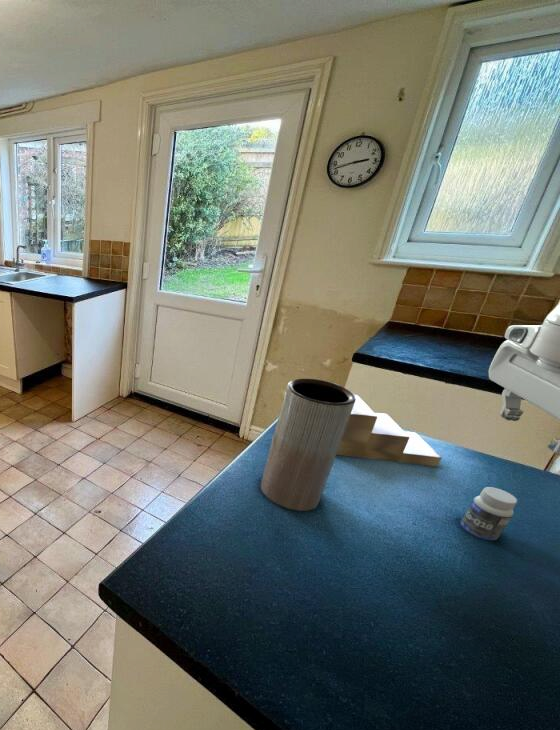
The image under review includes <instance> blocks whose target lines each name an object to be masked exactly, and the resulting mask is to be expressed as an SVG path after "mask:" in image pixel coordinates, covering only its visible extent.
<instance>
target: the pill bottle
mask: <svg viewBox="0 0 560 730" xmlns="http://www.w3.org/2000/svg"><path fill="white" fill-rule="evenodd" d="M517 503H518V499H517V497H515V496H514V495H513V494H512V493H509V492H508V491H505V490H503V489H501V488H497V487H492V486H486V487H484V488H483V489H482V490H481V492H480V494H479V495H477V496H475V497H474V498H473V499H472V502H471V503H470V506H469V507H468V508H467V510H466V512H465V513H464V515H463V517H462V519H461V520H460V525H461V527H462V528H463V529H464V530H465V531H466V532H468V533H469V534H471V535H473V536H475V537H477V538H480V539H483V540H487V541H496V540H497V539H499V537H500V536H501V534H502V533H503V531H504V530H505V528H506V526H507V525H508V523H509V522H510V521H511V519H512V517H513V516H514V513H515V512H514V508H515V507H516V504H517Z"/></svg>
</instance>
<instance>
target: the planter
mask: <svg viewBox="0 0 560 730" xmlns="http://www.w3.org/2000/svg"><path fill="white" fill-rule="evenodd" d="M354 395H355V394H354V393H353V392H352V391H351V390H349V389H348V388H346V387H344V386H342V385H340V384H337V383H334V382H331V381H326V380H322V379H316V378H297V379H293V380H291V381H289V382H288V383H287V386H286V389H285V392H284V396H283V399H282V402H281V403H282V404H281V407H280V410H279V414H278V418H277V421H276V425H275V429H274V432H273V436H272V440H271V444H270V447H269V451H268V455H267V459H266V462H265V465H264V470H263V474H262V476H261V481H260V489H261V491H262V493H263V494H264V496H266V497H267V498H268V499H269V500H270V501H272V502H274V503H275V504H276V505H279V506H281V507H283V508H286V509H289V510H294V511H302V512H303V511H304V512H305V511H311V510H314V509H316V508H317V507H318V505H319V504H320V501H321V499H322V495H323V493H324V490H325V487H326V484H327V483H328V479H329V476H330V474H331V472H332V468H333V466H334V462H335V459H336V458H337V457H336V456H337V451H338V448H339V446H340V443H341V440H342V437H343V434H344V432H345V429H346V426H347V423H348V420H349V418H350V415H351V412H352V409H353V406H354V404H355V400H356V398H355V396H354Z"/></svg>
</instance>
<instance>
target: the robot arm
mask: <svg viewBox="0 0 560 730" xmlns="http://www.w3.org/2000/svg"><path fill="white" fill-rule="evenodd" d="M504 338H505V339H506V340H504V341H503V342H502V343H501V344H500V345H499V348H498V349H497V350H496V352H495V354H494V357H493V359H492V361H491V363H490V365H489V368H488V379H489V380H490V381H491V382H493V383H496V384H497V385H499V386H501V387H502V388H504V389H503V390H502V392H501V401H502V402H501V403H502V407H501V410H500V411H499V413H498V415H499V416H500V417H501V418H502V419H504V420H506V421H512V422H518V421H519V420H520V419H521V416H522V415H523V414H524V411H523V410H522V409H521V404H522V399H523V400H525V401H526V402H528V403H529V404H531V405H533V406H535V407H537V408H539V409H540V410H542V411H544V412H545V413H547V414H549V415H550V416H551V417H554V418H555V419H557V420H559V421H560V300H559V301H558V303H557V304H556V305H555V307H553V309H552V310H551V311H550V312H549V313H548V314H547V315H546V317H545V318H544V320H543V322H542V324H540V325H539V324H538V325H534V324H533V325H531V324H530V325H527V324H526V325H524V324H518V325H516V324H513V325H510V326H508V327H507V329H506V330H505V333H504ZM547 448H548V449H549V450H550V451H552V452H554V453H555V454H557V455H558V456H560V437H559V438H557V437H552V439H551V440H550V443H549V444H548V445H547Z"/></svg>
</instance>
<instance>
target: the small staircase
mask: <svg viewBox="0 0 560 730" xmlns="http://www.w3.org/2000/svg"><path fill="white" fill-rule="evenodd" d="M354 396H355V398H356V400H355V404H354V406H353V409H352V412H351V415H350V418H349V420H348V423H347V426H346V429H345V432H344V434H343V437H342V440H341V443H340V446H339V448H338V451H337V454H336V456H337V455H338V456H346V457H354V458H363V459H370V460H371V459H372V460H378V461H379V460H381V461H389V462H395V463H404V464H414V465H422V466H428V467H429V466H430V467H438V466H439V464H440V462H441V460H442V457H443V456H441V455H440V454H438V453H437V451H435V449H434V448H432V447H431V445H429V444H428V443H427V442H426V441H425V440H424V439H423V437H421V436H420V435H419V433H417V432H415V431H405V430H403V428H401V427H400V426H399V425H398V423H396V422H395V420H394V419H393V418H392V417H391V416H390V415H388V414H387V413H382V412H374V411H373V409H371V408H370V407H369V405H368V404H367V403H366V401H364V400H363V399H362V398H361V397H360V396H359V395H358V394H354Z"/></svg>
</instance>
